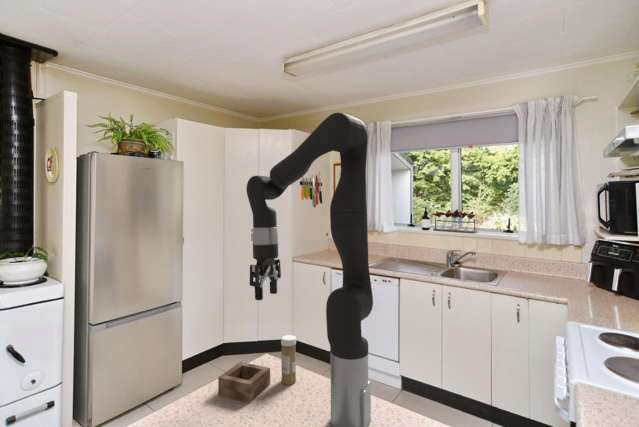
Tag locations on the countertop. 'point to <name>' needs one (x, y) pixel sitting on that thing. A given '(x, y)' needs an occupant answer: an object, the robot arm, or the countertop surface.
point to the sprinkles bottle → (288, 359)
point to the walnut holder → (244, 382)
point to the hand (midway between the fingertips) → (266, 296)
